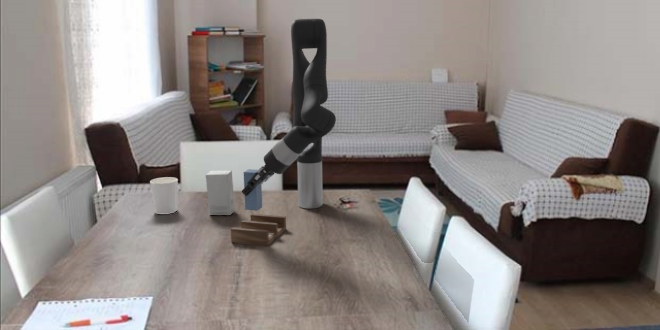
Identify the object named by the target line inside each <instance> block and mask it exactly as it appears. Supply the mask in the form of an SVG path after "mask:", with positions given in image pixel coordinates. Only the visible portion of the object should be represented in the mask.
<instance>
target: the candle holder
mask: <svg viewBox="0 0 660 330" xmlns="http://www.w3.org/2000/svg"><path fill="white" fill-rule="evenodd" d="M178 181H179V179H178V178H177V177H173V176H172V177H171V176H169V177H168V176H165V177H157V178H153V179H151V180H150V181H149V184H150V185H149V186H150V190H151V198H152V204H153V211H155V212H157V213H170V212H175V211H177V210H178V211H179V196H178V195H179V191H178V190H179V187H178V185H179V184H178V183H179V182H178ZM178 211H177V212H178ZM155 212H154V213H155Z"/></svg>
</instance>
